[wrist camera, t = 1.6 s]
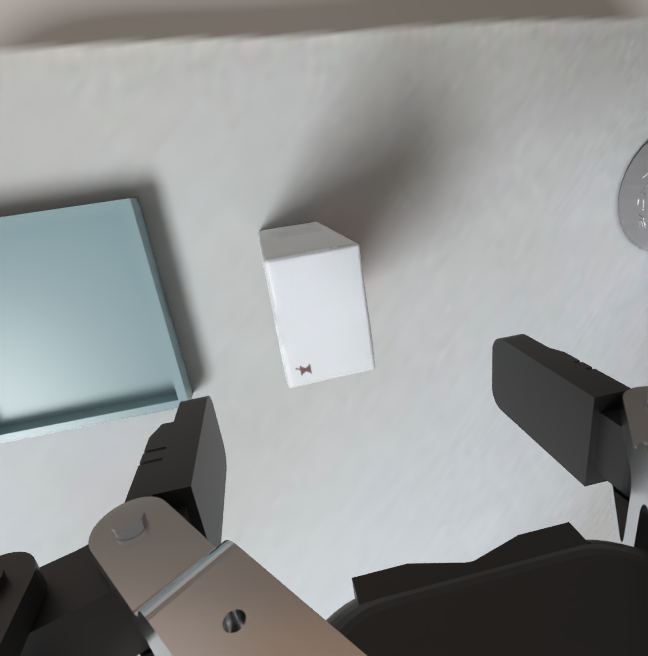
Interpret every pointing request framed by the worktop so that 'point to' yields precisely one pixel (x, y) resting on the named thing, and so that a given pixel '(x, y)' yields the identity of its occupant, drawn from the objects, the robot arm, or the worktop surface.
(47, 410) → the tray
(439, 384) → the worktop surface
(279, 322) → the skincare box
